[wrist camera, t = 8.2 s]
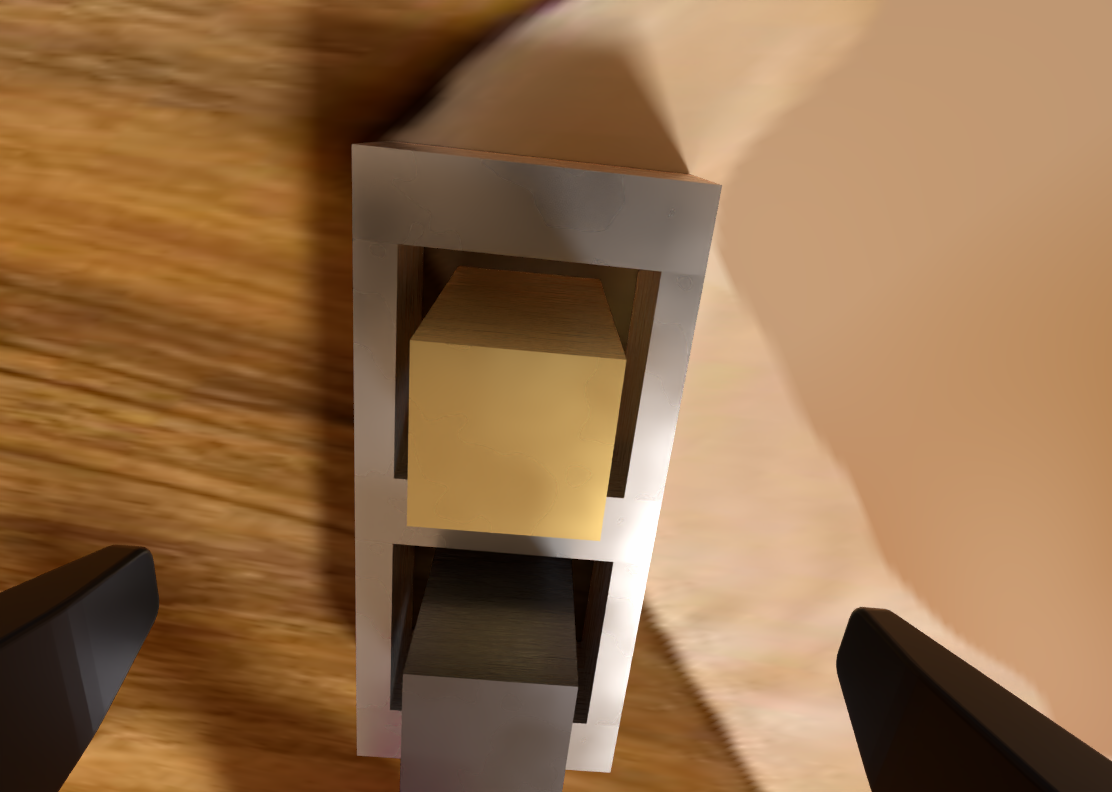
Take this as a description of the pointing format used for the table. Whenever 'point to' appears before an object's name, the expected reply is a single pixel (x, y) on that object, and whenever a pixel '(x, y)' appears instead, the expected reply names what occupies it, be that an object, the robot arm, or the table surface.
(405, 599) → the grey slotted block holder
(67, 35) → the table surface
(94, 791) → the table surface
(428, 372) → the wooden toy block
